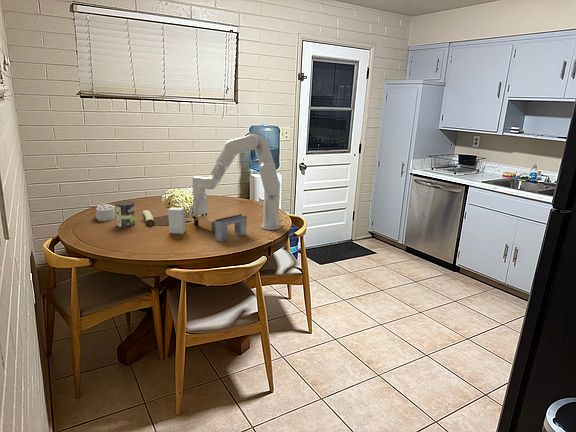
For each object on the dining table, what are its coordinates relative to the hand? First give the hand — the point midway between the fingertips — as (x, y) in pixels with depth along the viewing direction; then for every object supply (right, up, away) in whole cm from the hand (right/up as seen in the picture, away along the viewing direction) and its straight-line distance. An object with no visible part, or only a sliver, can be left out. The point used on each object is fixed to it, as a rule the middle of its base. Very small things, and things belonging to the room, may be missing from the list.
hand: (199, 224), depth 246 cm
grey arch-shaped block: (+22, -7, -18) cm, 30 cm away
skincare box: (-10, -5, -15) cm, 18 cm away
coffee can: (-43, -1, -7) cm, 44 cm away
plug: (+6, -2, -5) cm, 8 cm away
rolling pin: (-33, +1, +4) cm, 34 cm away
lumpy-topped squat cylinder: (-61, +3, +5) cm, 62 cm away
